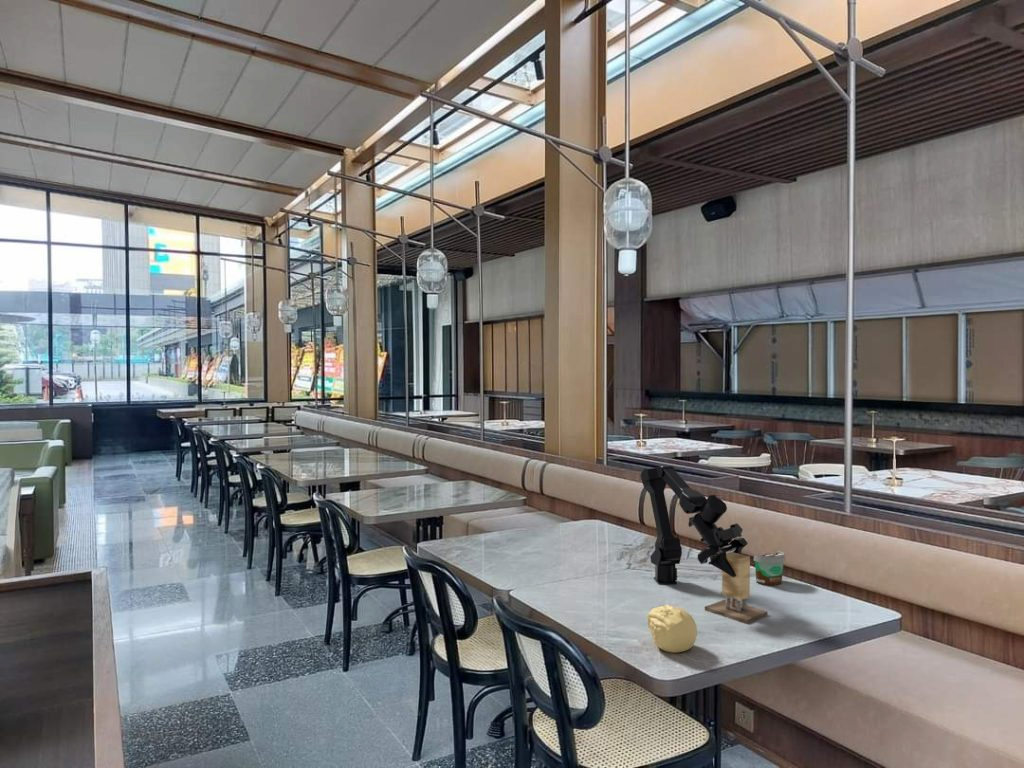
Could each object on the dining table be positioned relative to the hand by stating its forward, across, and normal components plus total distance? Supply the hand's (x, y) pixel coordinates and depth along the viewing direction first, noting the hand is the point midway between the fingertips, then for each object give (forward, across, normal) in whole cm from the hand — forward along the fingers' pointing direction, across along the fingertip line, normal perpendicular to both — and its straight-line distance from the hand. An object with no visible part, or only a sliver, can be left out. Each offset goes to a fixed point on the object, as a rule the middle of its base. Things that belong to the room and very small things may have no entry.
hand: (740, 574), depth 196 cm
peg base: (+7, 0, +9) cm, 12 cm away
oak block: (+4, 0, +6) cm, 7 cm away
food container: (+2, +34, +15) cm, 37 cm away
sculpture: (+10, -35, +6) cm, 37 cm away
